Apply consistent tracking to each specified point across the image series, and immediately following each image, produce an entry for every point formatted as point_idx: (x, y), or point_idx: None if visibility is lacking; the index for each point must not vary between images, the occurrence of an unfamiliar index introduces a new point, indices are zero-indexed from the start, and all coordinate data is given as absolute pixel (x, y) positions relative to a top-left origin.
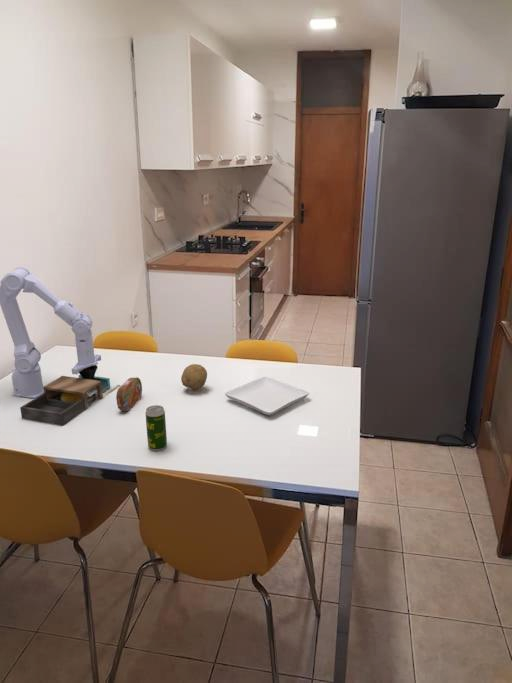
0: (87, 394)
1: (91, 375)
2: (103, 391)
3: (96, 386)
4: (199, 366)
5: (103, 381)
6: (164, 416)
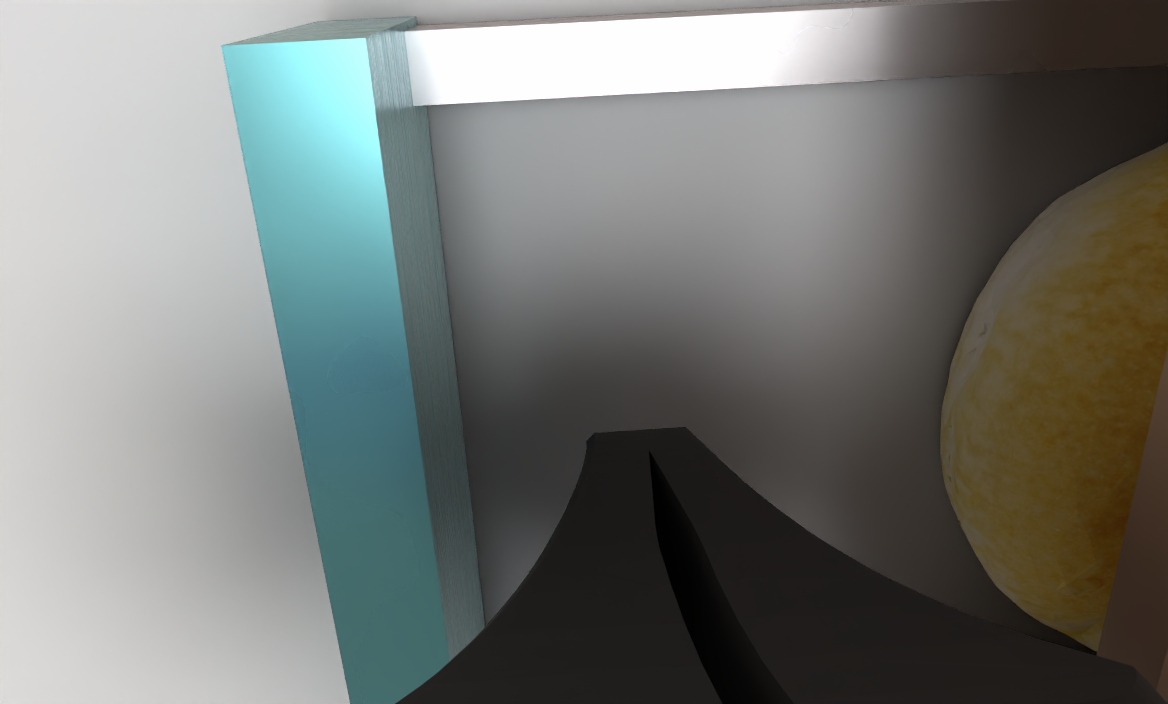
0: (1138, 208)
1: (781, 590)
2: (659, 16)
3: (454, 394)
4: None
5: (403, 217)
6: None
